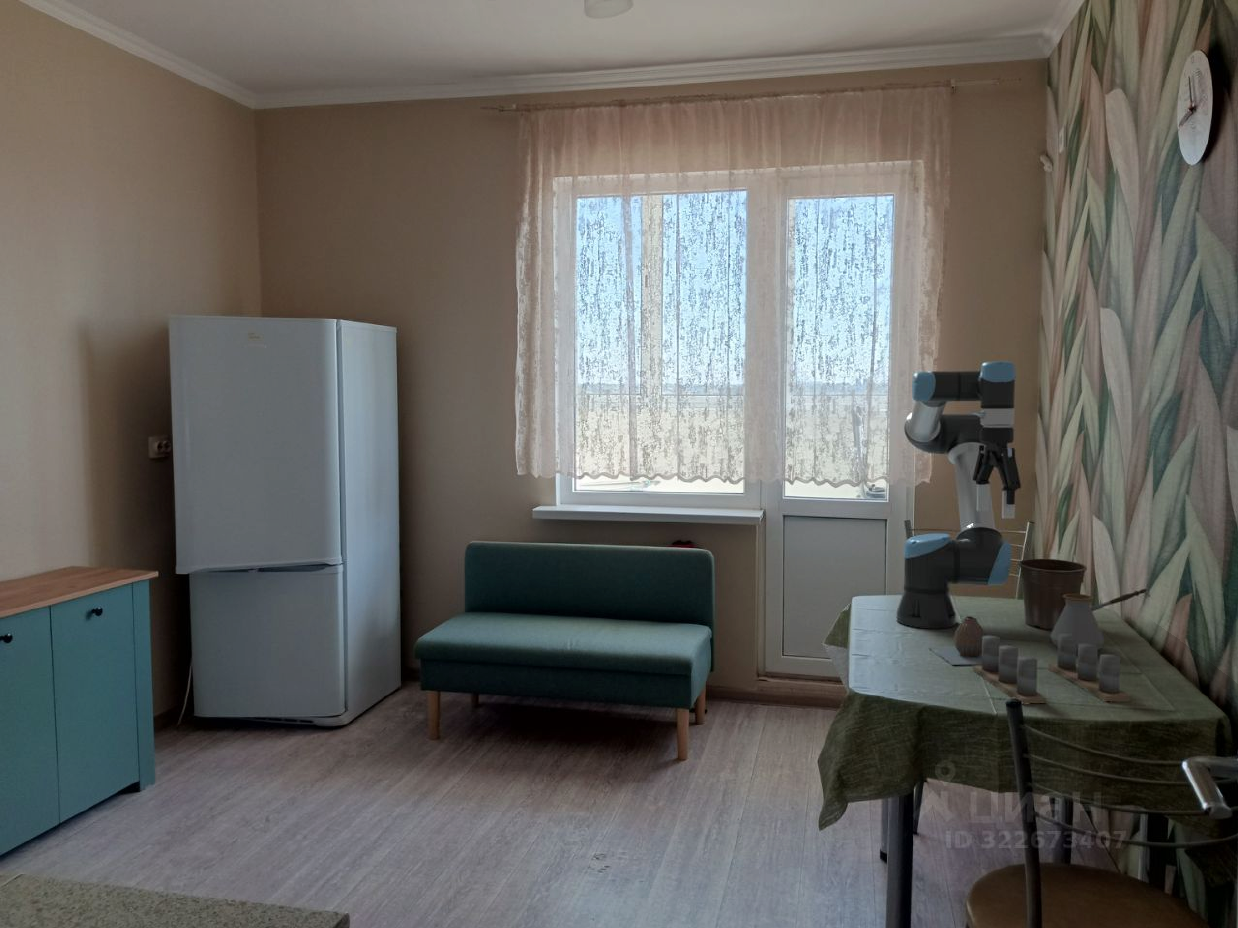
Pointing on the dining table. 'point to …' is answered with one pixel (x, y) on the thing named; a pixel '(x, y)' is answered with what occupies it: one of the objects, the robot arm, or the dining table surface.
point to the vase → (969, 637)
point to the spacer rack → (1022, 671)
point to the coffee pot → (1083, 618)
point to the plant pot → (1048, 588)
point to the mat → (957, 656)
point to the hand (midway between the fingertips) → (995, 514)
